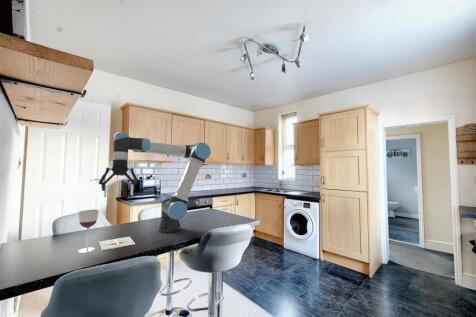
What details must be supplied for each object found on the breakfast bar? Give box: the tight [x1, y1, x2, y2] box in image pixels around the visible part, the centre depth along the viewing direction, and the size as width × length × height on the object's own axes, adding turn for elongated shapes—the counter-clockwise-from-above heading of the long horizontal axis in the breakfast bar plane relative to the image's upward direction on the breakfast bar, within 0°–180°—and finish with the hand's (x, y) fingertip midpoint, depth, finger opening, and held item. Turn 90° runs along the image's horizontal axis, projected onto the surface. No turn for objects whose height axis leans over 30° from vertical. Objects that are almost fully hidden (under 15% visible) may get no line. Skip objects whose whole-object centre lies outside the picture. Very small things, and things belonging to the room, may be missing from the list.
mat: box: [98, 236, 136, 252], centre depth 121 cm, size 16×16×1 cm
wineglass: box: [77, 209, 99, 254], centre depth 111 cm, size 8×9×20 cm
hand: (118, 196), depth 122 cm, fingers open, 13 cm apart
